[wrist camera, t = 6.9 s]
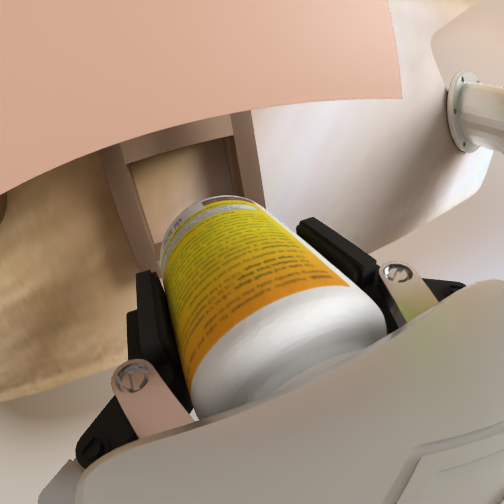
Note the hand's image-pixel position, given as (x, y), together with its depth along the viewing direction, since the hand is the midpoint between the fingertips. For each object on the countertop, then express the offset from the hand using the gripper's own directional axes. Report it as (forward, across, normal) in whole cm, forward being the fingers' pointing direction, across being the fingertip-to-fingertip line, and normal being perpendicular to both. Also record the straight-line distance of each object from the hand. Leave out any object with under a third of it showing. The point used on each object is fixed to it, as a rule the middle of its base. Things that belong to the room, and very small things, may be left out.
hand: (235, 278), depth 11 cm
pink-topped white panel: (+14, 0, -10) cm, 17 cm away
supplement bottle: (+3, 0, 0) cm, 3 cm away
